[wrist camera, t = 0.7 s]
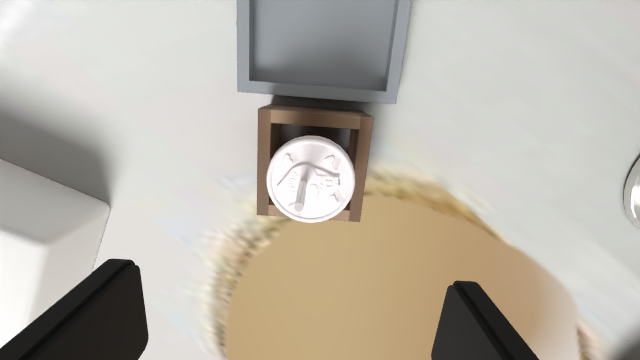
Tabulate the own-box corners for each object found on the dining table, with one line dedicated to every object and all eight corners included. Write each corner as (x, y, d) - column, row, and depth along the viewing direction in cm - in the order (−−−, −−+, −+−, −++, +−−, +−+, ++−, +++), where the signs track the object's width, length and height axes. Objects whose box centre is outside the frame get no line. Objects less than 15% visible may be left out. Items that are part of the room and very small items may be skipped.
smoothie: (278, 123, 29) (243, 156, 16) (342, 118, 29) (363, 146, 16) (286, 185, 31) (261, 260, 18) (346, 180, 31) (367, 252, 18)
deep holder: (362, 111, 29) (373, 117, 23) (352, 197, 31) (359, 221, 26) (270, 104, 28) (258, 108, 23) (268, 191, 31) (256, 214, 25)
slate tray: (410, -44, 25) (420, -58, 22) (389, 102, 28) (395, 104, 26) (244, -59, 24) (235, -75, 22) (244, 91, 28) (237, 91, 26)
